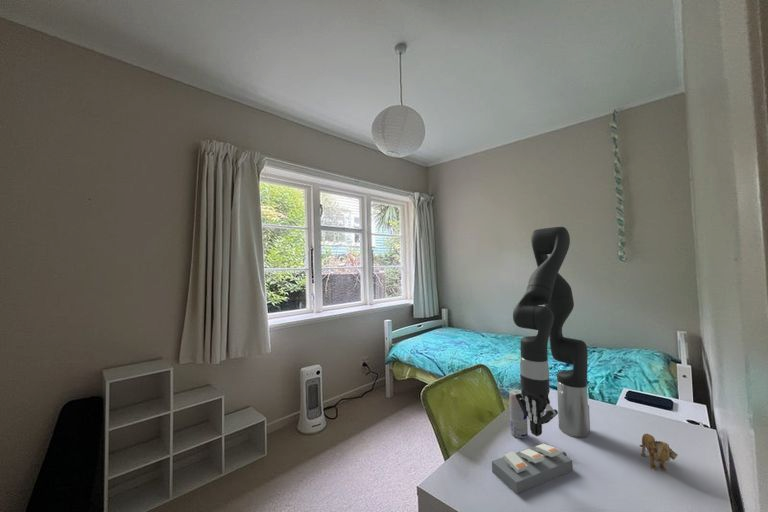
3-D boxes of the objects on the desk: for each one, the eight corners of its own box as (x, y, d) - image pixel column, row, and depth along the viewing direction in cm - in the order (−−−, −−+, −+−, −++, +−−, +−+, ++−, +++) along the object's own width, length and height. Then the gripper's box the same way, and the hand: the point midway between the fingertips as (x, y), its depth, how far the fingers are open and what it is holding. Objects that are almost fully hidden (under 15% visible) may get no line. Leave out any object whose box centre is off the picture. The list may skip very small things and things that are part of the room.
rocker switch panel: (551, 449, 93) (551, 440, 94) (579, 467, 85) (579, 457, 85) (492, 471, 84) (491, 461, 84) (516, 493, 76) (516, 482, 76)
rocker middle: (530, 455, 87) (528, 448, 87) (544, 462, 82) (543, 454, 83) (521, 458, 86) (519, 451, 86) (535, 466, 81) (534, 458, 81)
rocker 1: (512, 456, 85) (513, 450, 85) (526, 471, 80) (527, 465, 80) (503, 459, 84) (504, 453, 83) (517, 475, 79) (518, 468, 79)
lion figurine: (681, 481, 79) (680, 448, 79) (658, 477, 81) (656, 445, 81) (649, 448, 93) (648, 420, 94) (629, 446, 95) (628, 418, 95)
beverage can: (529, 440, 99) (528, 396, 99) (512, 438, 100) (511, 395, 100) (525, 430, 104) (523, 389, 105) (508, 429, 105) (507, 388, 106)
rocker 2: (545, 450, 89) (543, 442, 90) (560, 456, 85) (558, 448, 85) (536, 453, 88) (535, 445, 88) (551, 459, 83) (550, 452, 84)
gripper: (565, 380, 79) (567, 444, 78) (525, 365, 91) (526, 420, 90) (545, 384, 76) (547, 451, 75) (507, 368, 88) (508, 425, 87)
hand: (536, 434), depth 83 cm, fingers closed
